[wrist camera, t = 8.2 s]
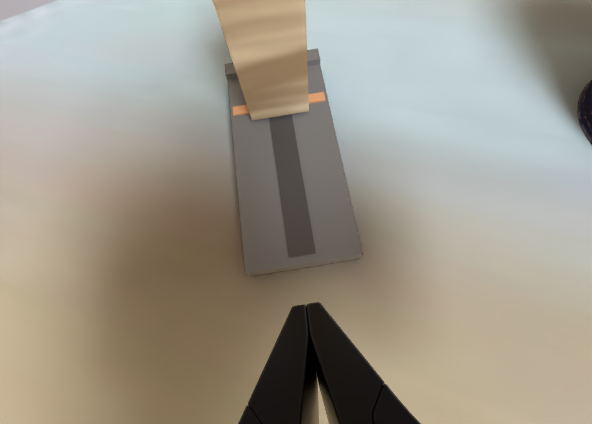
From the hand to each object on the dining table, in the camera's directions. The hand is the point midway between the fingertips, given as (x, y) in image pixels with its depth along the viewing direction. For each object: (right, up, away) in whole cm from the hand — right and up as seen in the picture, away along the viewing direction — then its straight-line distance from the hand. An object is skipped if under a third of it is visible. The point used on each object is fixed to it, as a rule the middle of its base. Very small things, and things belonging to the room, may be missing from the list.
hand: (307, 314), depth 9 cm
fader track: (-1, +7, +13) cm, 15 cm away
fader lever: (-2, +11, +12) cm, 17 cm away
